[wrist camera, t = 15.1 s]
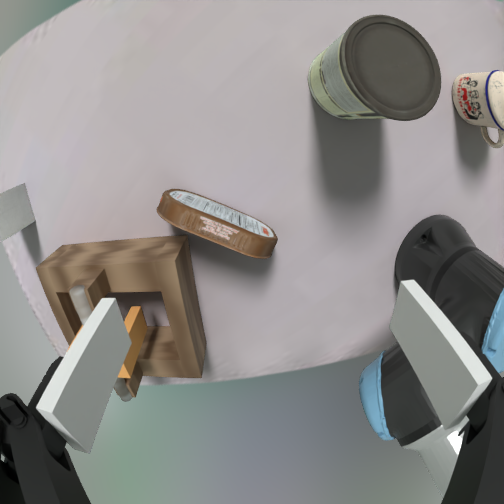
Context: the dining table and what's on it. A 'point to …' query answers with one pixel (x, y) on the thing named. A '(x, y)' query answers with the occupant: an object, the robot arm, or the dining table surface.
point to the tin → (217, 223)
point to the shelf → (132, 280)
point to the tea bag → (14, 211)
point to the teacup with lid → (481, 101)
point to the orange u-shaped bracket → (132, 339)
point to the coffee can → (377, 72)
